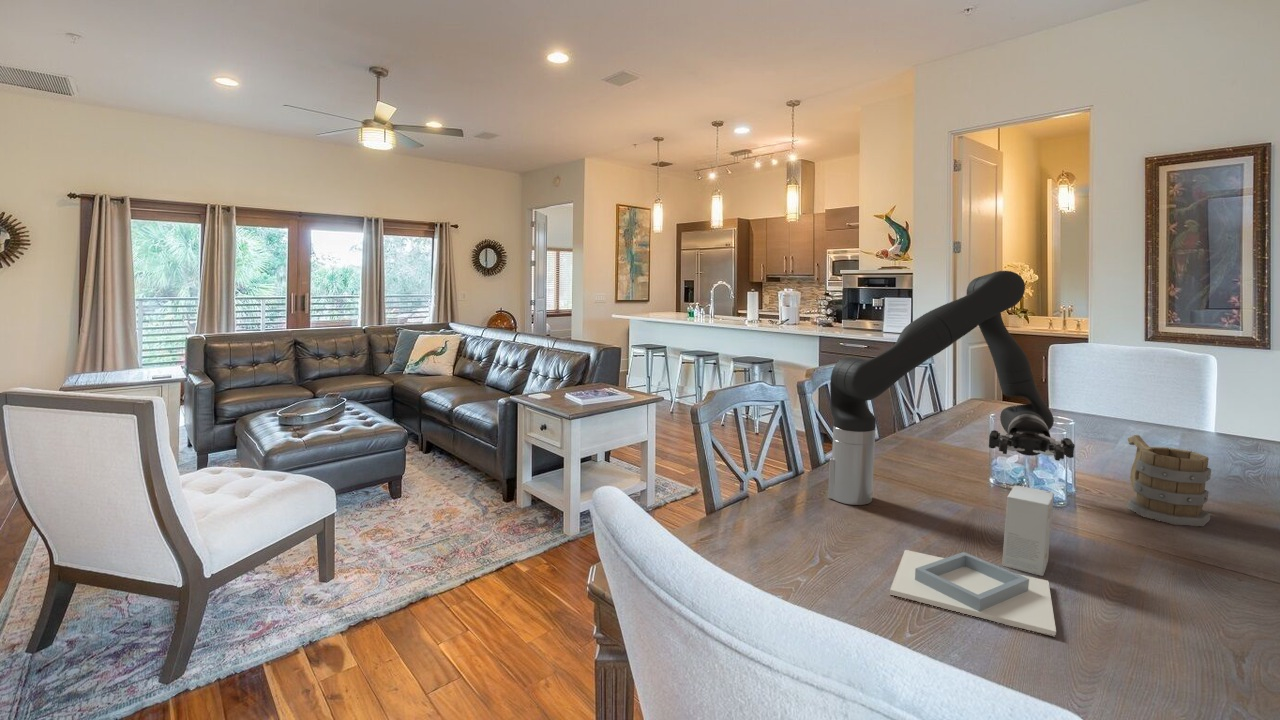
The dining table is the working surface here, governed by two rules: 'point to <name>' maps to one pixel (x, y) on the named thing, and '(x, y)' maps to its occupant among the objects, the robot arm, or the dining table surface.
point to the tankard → (1169, 484)
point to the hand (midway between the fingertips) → (1031, 452)
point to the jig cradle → (976, 589)
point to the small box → (1027, 529)
